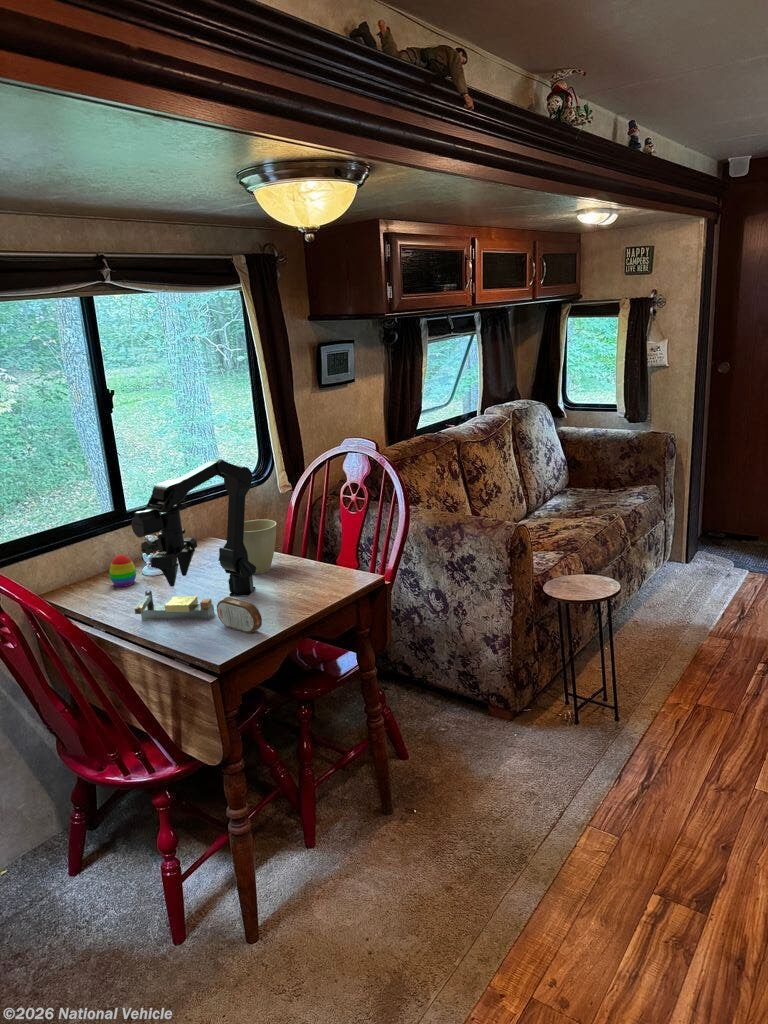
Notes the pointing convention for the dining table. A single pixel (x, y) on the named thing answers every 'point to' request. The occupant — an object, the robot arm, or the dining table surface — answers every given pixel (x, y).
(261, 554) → the plant pot
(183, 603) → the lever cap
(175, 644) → the dining table surface
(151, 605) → the cam lever
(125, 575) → the decorative egg
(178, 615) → the plane body
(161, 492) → the robot arm
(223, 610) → the tin
